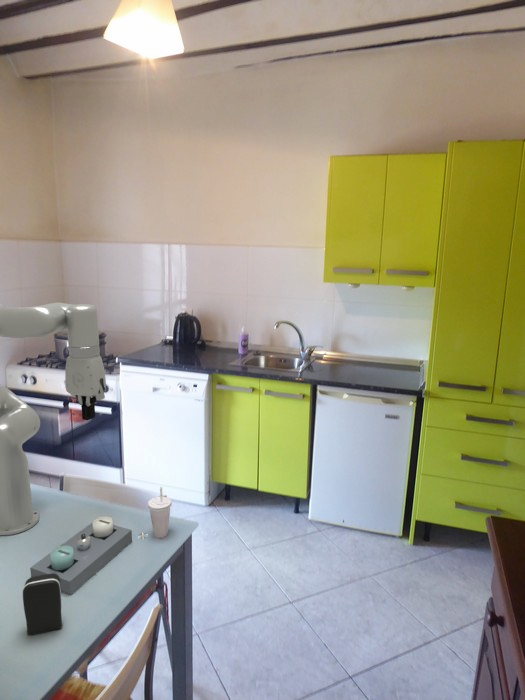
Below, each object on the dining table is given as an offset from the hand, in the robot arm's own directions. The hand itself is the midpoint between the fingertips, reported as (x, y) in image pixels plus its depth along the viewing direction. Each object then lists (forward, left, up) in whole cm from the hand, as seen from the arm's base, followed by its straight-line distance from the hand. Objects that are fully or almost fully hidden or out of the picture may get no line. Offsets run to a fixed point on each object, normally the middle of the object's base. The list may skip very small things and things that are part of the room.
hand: (88, 418), depth 128 cm
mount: (+8, -13, -32) cm, 36 cm away
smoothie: (+19, +4, -32) cm, 38 cm away
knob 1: (+8, -20, -31) cm, 38 cm away
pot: (+8, -13, -29) cm, 32 cm away
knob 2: (+8, -6, -31) cm, 32 cm away
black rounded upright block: (+16, -33, -32) cm, 49 cm away
